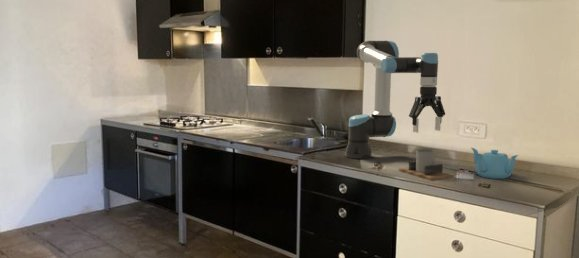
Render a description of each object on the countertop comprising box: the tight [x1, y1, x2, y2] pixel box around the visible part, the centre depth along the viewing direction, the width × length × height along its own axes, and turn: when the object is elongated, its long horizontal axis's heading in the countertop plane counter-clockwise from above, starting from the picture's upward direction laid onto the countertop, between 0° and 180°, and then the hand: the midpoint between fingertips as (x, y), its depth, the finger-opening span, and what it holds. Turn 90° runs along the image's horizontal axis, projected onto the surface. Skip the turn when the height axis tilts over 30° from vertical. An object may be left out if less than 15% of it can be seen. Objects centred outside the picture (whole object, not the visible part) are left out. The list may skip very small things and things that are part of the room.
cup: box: [415, 148, 436, 173], centre depth 233 cm, size 8×8×10 cm
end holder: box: [398, 160, 454, 181], centre depth 233 cm, size 22×14×5 cm, turn 27°
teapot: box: [470, 147, 519, 180], centre depth 230 cm, size 17×19×12 cm
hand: (426, 131), depth 231 cm, fingers open, 13 cm apart
